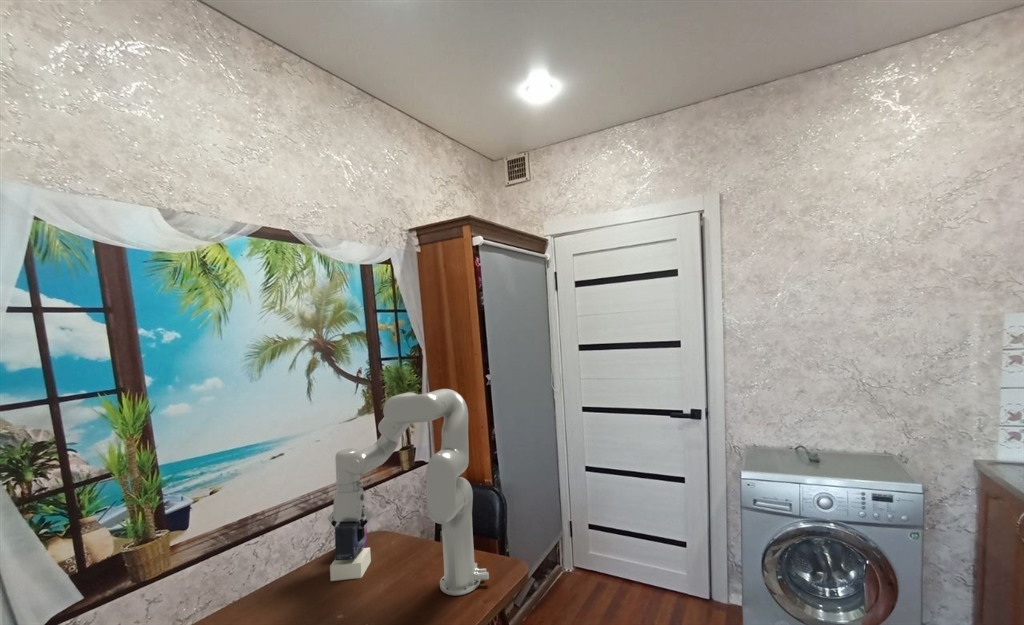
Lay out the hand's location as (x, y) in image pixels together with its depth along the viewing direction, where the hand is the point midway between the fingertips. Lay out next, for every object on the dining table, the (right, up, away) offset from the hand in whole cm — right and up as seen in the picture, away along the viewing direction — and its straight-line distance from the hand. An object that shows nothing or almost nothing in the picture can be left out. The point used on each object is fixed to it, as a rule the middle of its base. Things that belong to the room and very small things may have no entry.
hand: (350, 539), depth 136 cm
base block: (+1, -11, -1) cm, 11 cm away
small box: (0, -4, 0) cm, 4 cm away
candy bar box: (-3, -12, +11) cm, 16 cm away
